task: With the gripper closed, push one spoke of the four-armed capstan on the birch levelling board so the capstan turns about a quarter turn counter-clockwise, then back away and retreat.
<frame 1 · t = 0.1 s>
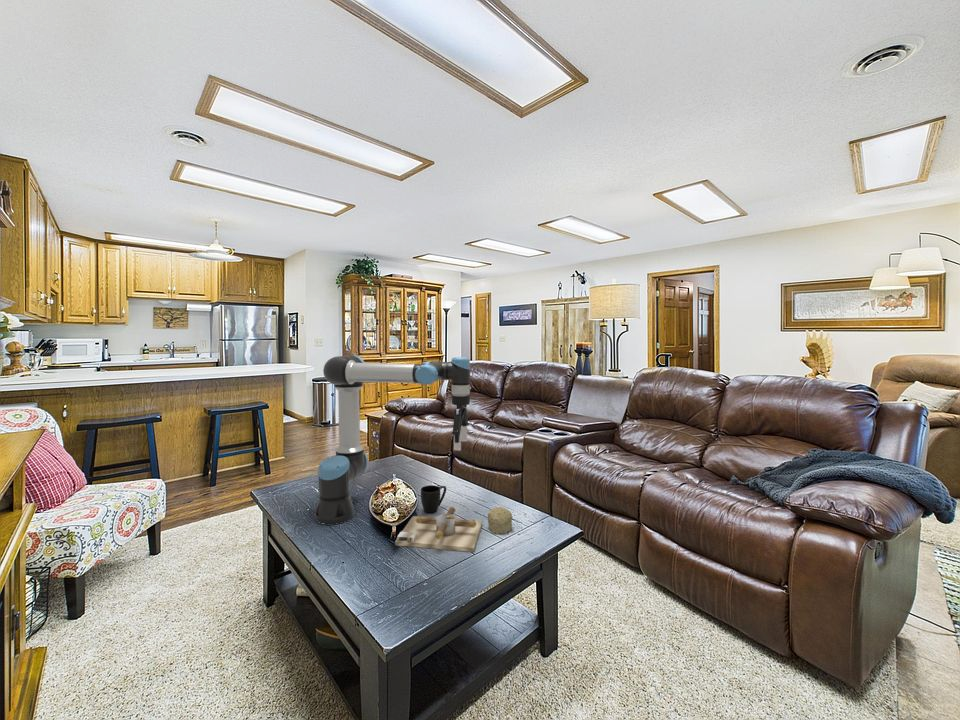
hand: (460, 445, 170), 28 cm above the table, fingers open, 13 cm apart
decorative object: (499, 529, 158), on the table
mug: (434, 510, 174), on the table
capstan: (445, 523, 151), point 5 cm above the table, hinge at 0.0°
stand: (440, 534, 152), on the table
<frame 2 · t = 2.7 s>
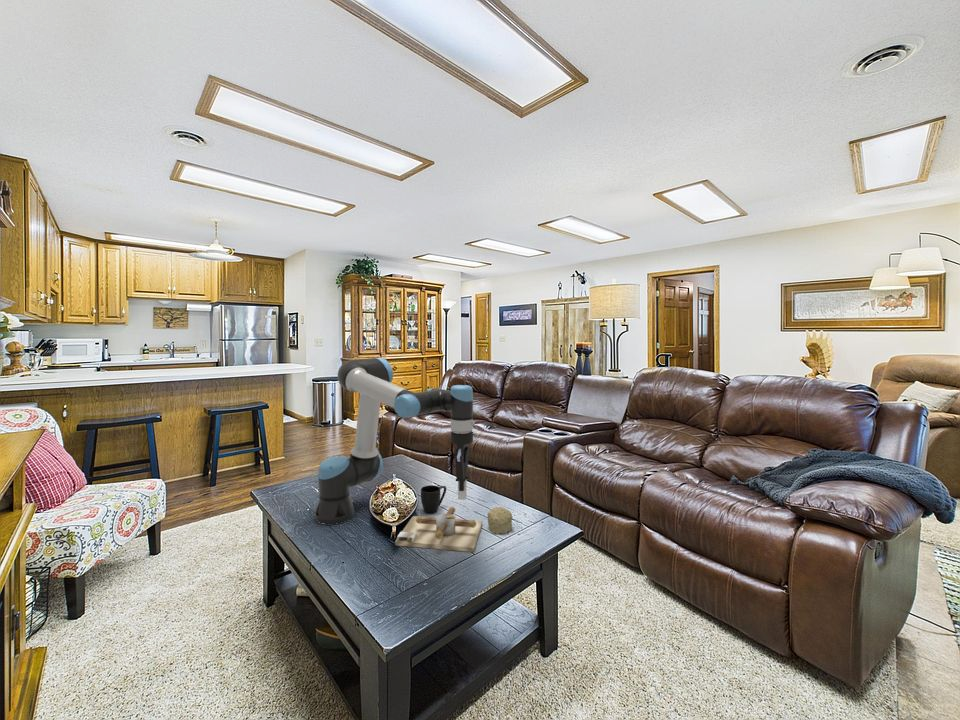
hand: (462, 498, 141), 18 cm above the table, fingers closed
nothing on the table moved.
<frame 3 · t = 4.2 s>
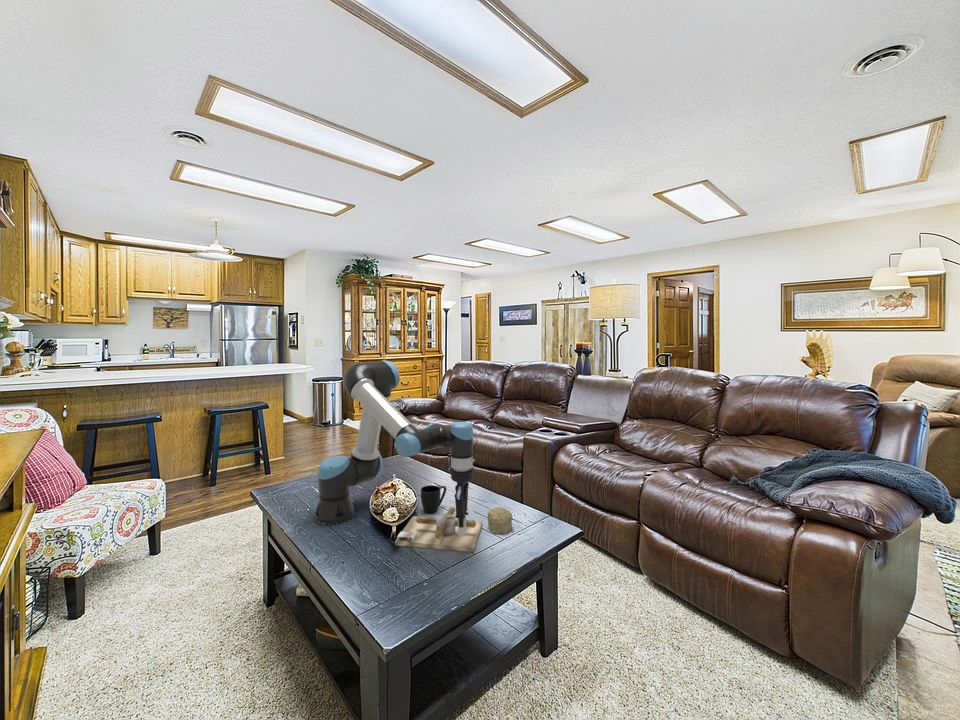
hand: (461, 534, 143), 5 cm above the table, fingers closed
nothing on the table moved.
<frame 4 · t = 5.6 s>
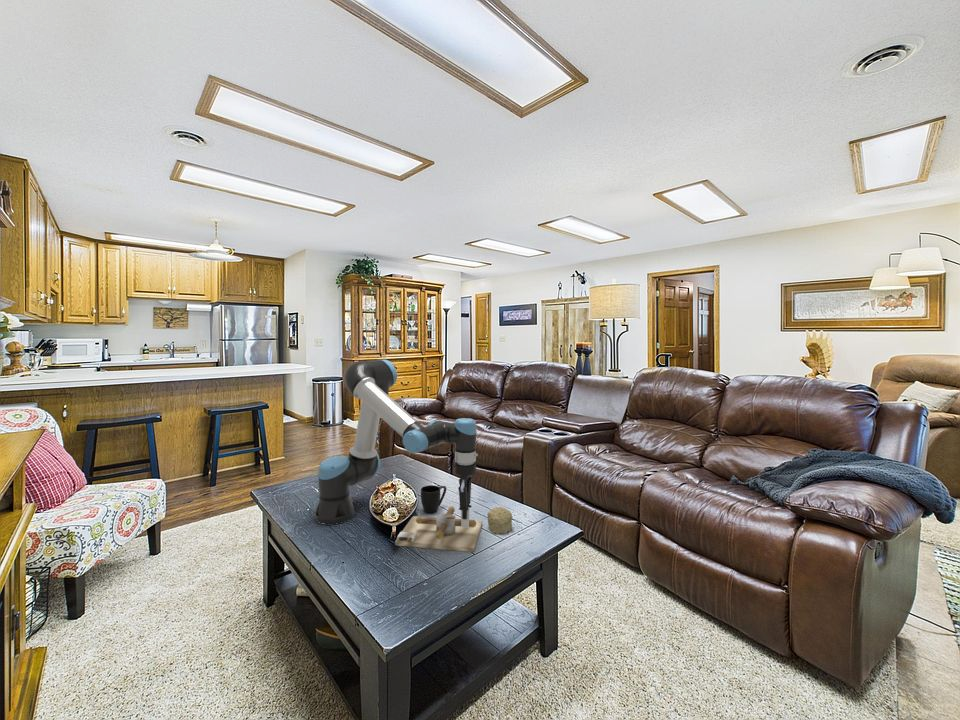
hand: (465, 526, 149), 5 cm above the table, fingers closed
capstan: (445, 523, 151), point 5 cm above the table, hinge at 1.2°, touching gripper
everything else where it was.
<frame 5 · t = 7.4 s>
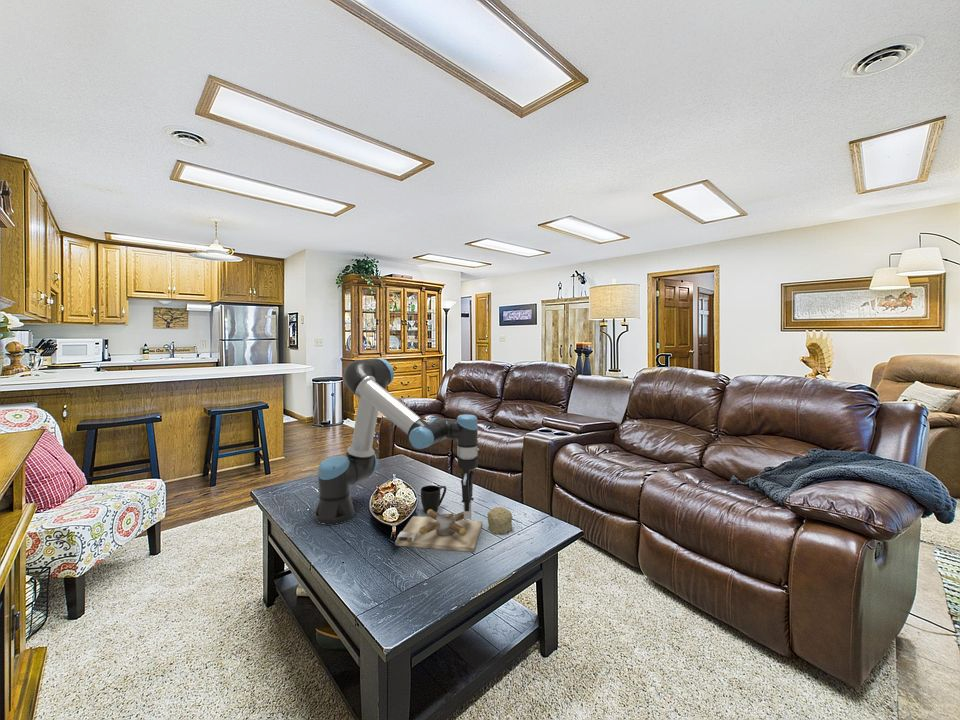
hand: (467, 518, 155), 5 cm above the table, fingers closed
capstan: (445, 523, 151), point 5 cm above the table, hinge at 50.3°, touching gripper
everything else where it was.
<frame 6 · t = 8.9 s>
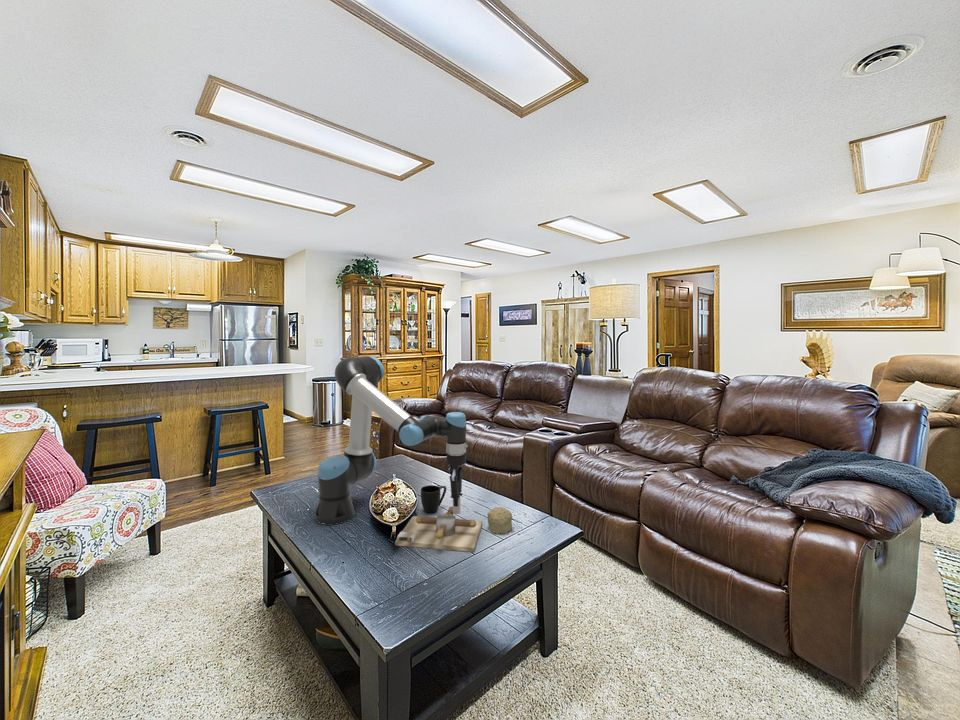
hand: (456, 513, 159), 5 cm above the table, fingers closed
capstan: (445, 523, 151), point 5 cm above the table, hinge at 90.6°, touching gripper
everything else where it was.
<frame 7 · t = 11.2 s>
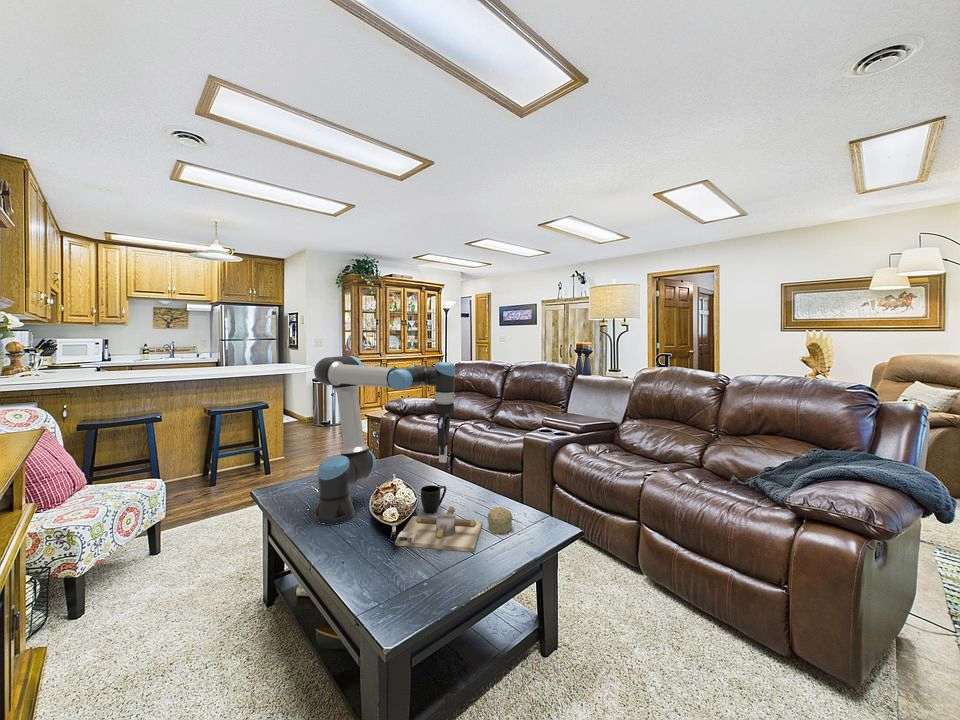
hand: (442, 461, 161), 24 cm above the table, fingers closed
capstan: (445, 523, 151), point 5 cm above the table, hinge at 90.7°
everything else where it was.
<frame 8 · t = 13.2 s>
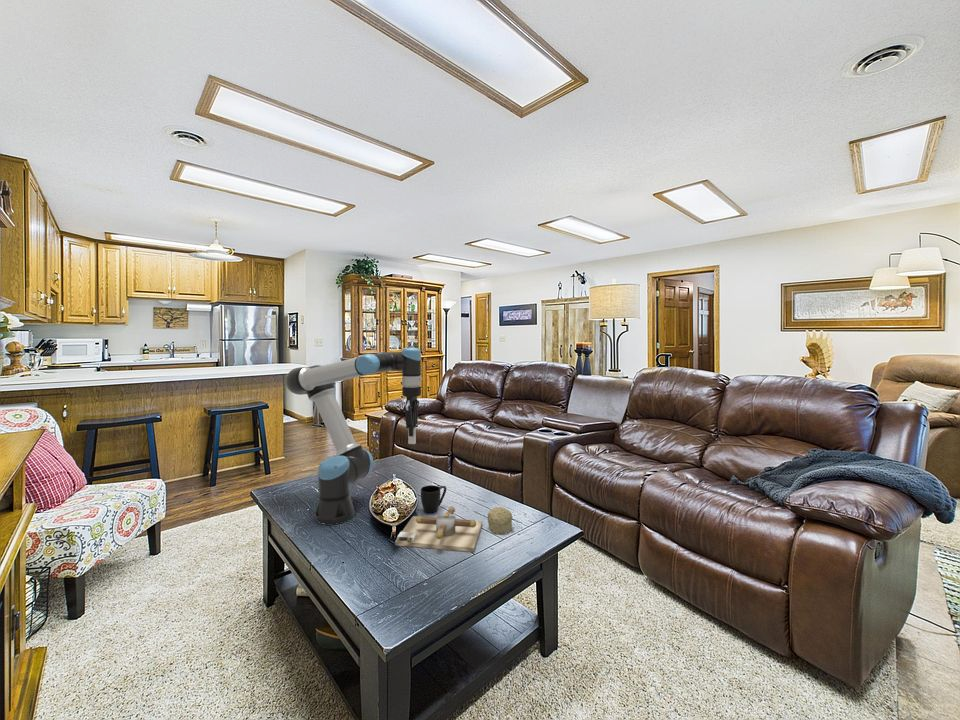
hand: (412, 443, 168), 29 cm above the table, fingers closed
nothing on the table moved.
at the end: capstan at +91° (first picture: +0°); the gripper is holding nothing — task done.
